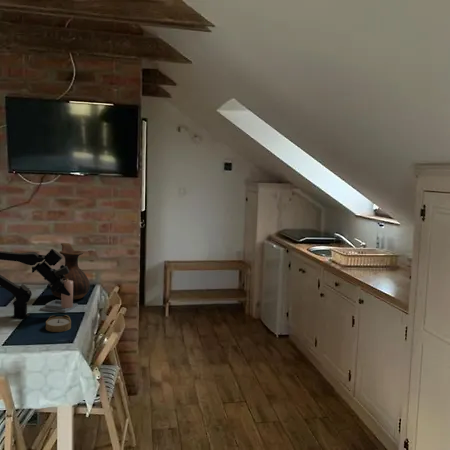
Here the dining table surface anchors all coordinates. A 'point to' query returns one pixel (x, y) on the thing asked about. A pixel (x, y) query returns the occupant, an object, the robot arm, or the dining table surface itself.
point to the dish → (56, 307)
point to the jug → (74, 272)
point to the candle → (65, 299)
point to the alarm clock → (58, 323)
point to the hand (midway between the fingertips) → (70, 293)
